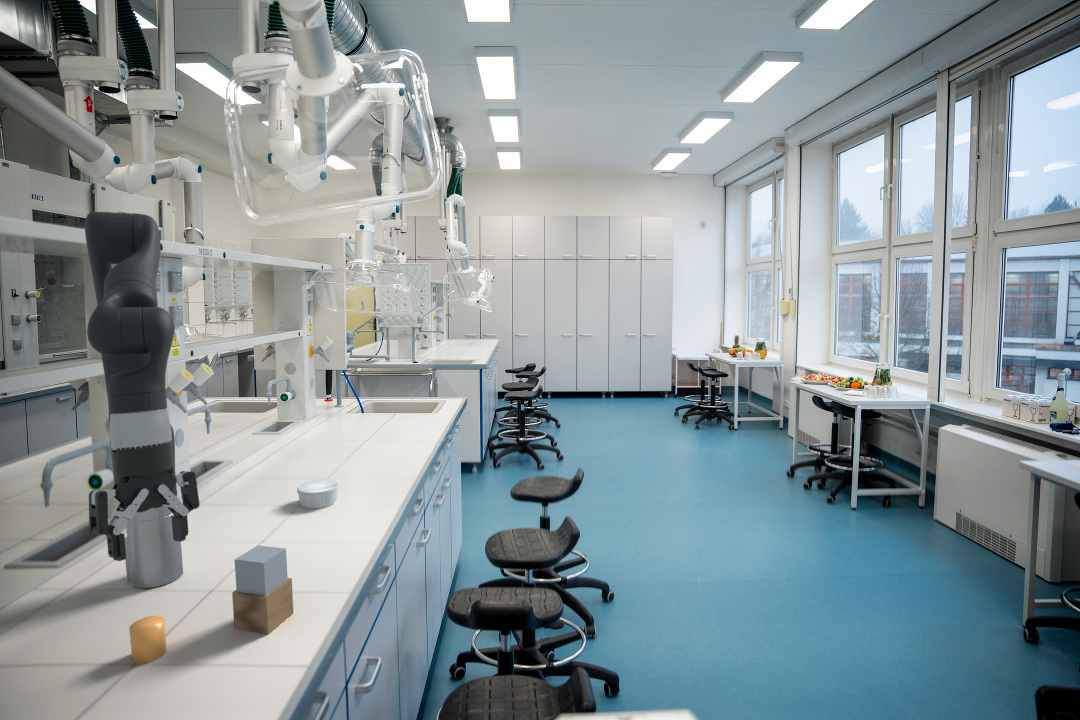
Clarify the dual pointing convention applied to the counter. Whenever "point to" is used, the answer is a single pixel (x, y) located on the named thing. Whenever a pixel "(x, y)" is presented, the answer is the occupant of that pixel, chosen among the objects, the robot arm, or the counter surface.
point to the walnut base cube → (263, 609)
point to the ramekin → (318, 493)
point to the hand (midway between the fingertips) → (150, 549)
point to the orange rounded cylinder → (147, 639)
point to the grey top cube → (261, 570)
